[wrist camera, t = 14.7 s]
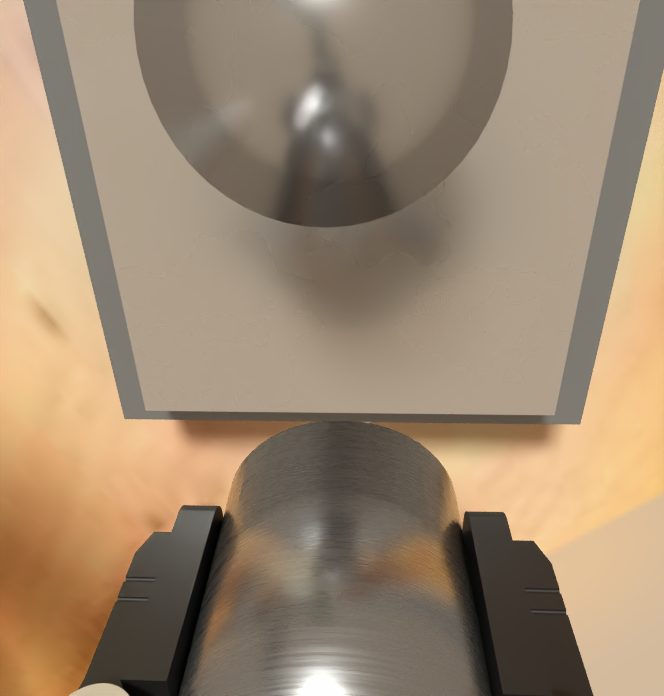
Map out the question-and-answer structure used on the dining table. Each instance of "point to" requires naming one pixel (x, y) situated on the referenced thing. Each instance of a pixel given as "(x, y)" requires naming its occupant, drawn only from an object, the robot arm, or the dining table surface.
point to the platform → (362, 243)
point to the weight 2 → (339, 574)
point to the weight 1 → (324, 97)
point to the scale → (605, 246)
